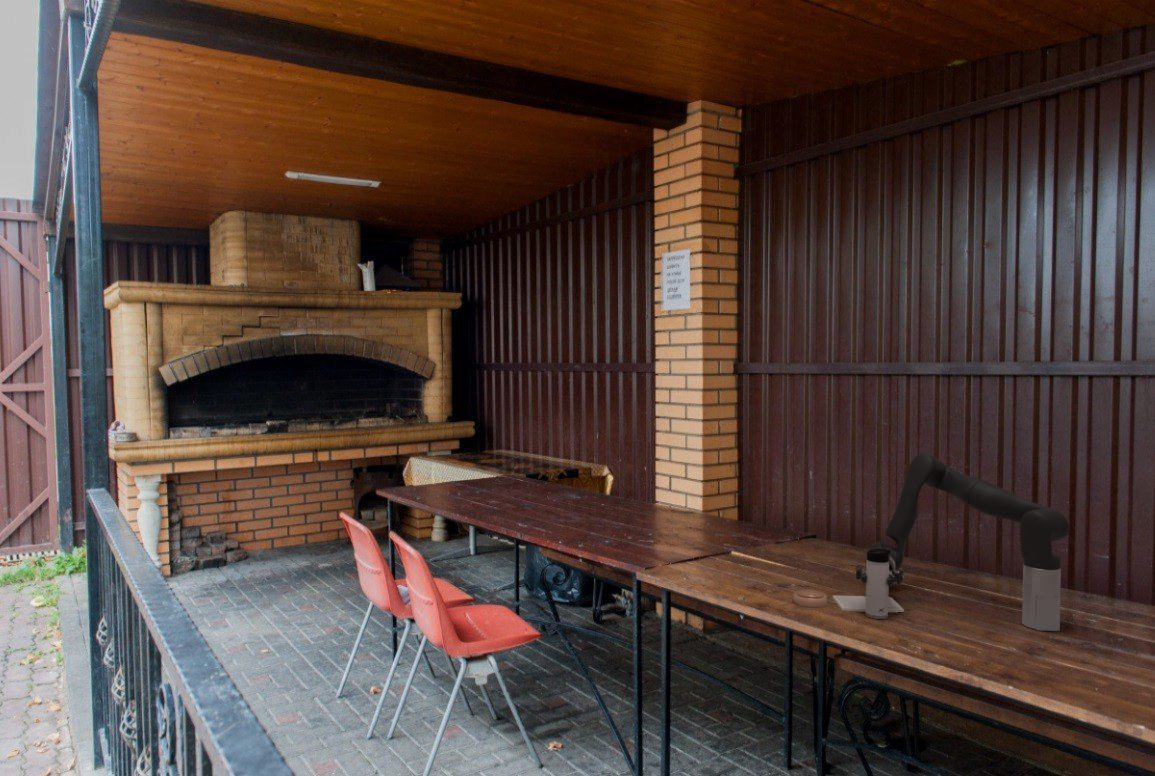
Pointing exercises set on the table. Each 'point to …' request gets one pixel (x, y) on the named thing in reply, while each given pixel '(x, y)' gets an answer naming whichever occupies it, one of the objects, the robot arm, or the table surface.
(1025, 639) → the table surface
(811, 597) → the tan round domed disc
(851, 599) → the tile
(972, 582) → the table surface
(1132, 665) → the table surface
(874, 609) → the travel mug
